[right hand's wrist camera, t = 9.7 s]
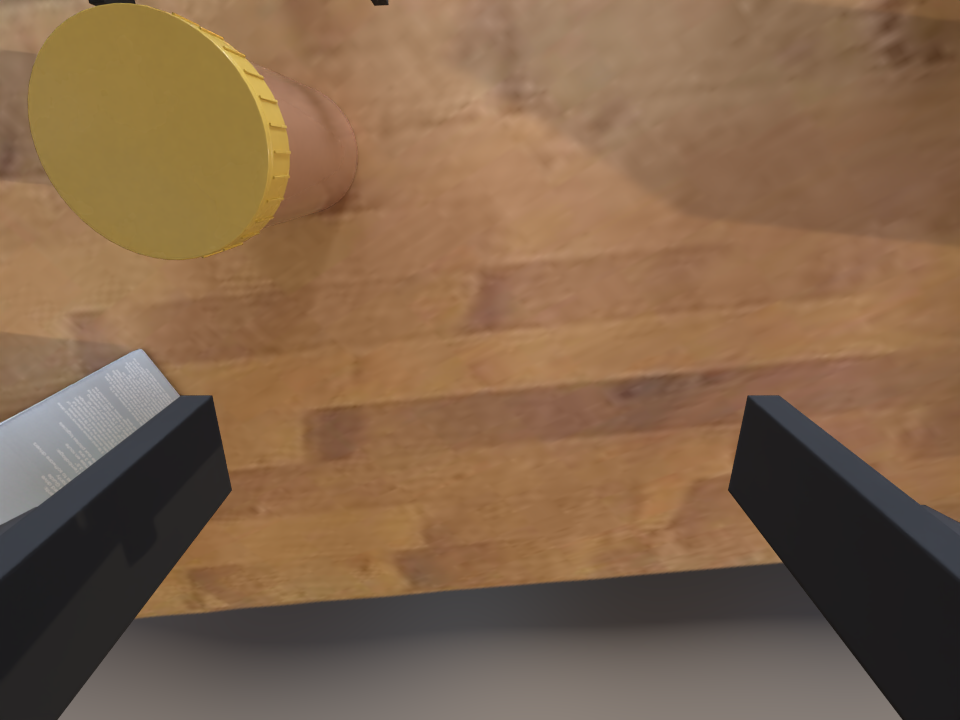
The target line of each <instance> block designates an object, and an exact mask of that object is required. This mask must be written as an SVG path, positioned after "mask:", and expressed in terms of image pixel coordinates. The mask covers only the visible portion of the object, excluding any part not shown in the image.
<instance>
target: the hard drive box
mask: <svg viewBox="0 0 960 720" xmlns="http://www.w3.org/2000/svg"><path fill="white" fill-rule="evenodd" d="M178 397H180V395H179V394H178V393H177V392H176V390H175V389H174V388H173V387H172V385H171V384H170V383H169V382H168V380H167V379H166V378H165V377H164V375H163V374H162V373H161V372H160V370H159V369H158V368H157V367H156V366H155V364H154V363H153V362H152V361H151V359H150V358H149V357H148V356H147V354H146V353H145V352H144V351H143V350H142V349H138V350H135V351H133V352H131V353H129V354H127V355H125V356H123V357H121V358H120V359H118V360H116V361H114V362H112V363H110V364H108V365H107V366H105V367H103V368H101V369H99V370H97V371H96V372H94V373H92V374H90V375H88V376H87V377H85V378H83V379H81V380H79V381H77V382H76V383H74V384H72V385H70V386H68V387H66V388H65V389H63V390H61V391H59V392H57V393H55V394H54V395H52V396H50V397H48V398H46V399H44V400H43V401H41V402H39V403H37V404H35V405H33V406H31V407H30V408H28V409H26V410H24V411H22V412H20V413H18V414H16V415H14V416H13V417H11V418H9V419H7V420H5V421H3V422H1V423H0V525H1V524H3V523H5V522H7V521H9V520H11V519H13V518H15V517H17V516H19V515H21V514H23V513H25V512H27V511H29V510H30V509H32V508H34V507H38V506H39V505H40V504H42V503H43V502H44V501H46V500H47V499H48V498H49V497H51V496H52V495H53V494H55V493H56V492H57V491H58V490H60V489H61V488H62V487H64V486H65V485H66V484H67V483H69V482H70V481H71V480H73V479H74V478H75V477H76V476H78V475H79V474H80V473H82V472H83V471H84V470H86V469H87V468H88V467H89V466H91V465H92V464H93V463H95V462H96V461H97V460H98V459H100V458H101V457H102V456H104V455H105V454H106V453H107V452H109V451H110V450H111V449H113V448H114V447H115V446H117V445H118V444H119V443H120V442H122V441H123V440H124V439H126V438H127V437H128V436H129V435H131V434H132V433H133V432H135V431H136V430H137V429H138V428H140V427H141V426H142V425H144V424H145V423H146V422H147V421H149V420H150V419H151V418H153V417H154V416H155V415H157V414H158V413H159V412H160V411H162V410H163V409H164V408H166V407H167V406H168V405H169V404H171V403H172V402H173V401H175V400H176V399H177V398H178Z"/></svg>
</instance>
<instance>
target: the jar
mask: <svg viewBox="0 0 960 720" xmlns="http://www.w3.org/2000/svg"><path fill="white" fill-rule="evenodd" d="M248 61H249V60H248ZM249 62H250V63H251V64H252V66H253V67H254V68H255V69H256V71H257V72H258V73H259V74H260V75H262V76H263V77H264V79H263V80H264V81H265V83H266V84H267V86H268V87H269V89H270V91H271V92H272V94H273V96H274V98H275V100H277V101H278V103H277V104H278V106H279V109H280V112H281V114H282V117H283V120H284V123H285V125H286V126H287V129H286V131H287V136H288V142H289V151H291V154H290V168H289V176H290V178H288V182H287V186H286V190H285V193H284V196H283V198H284V200H282V201H281V203H280V205H279V207H278V209H277V211H276V212H275V214H274V215H273V217H274V218H273V219H271V220H270V221H269V222H268V223H267V224H266V225H265V227H264V228H266V227H269V226H272V225H276V224H279V223H282V222H286V221H289V220H292V219H296V218H299V217H302V216H306V215H309V214H312V213H316V212H319V211H322V210H325V209H327V208H329V207H331V206H332V205H334V204H336V203H337V202H338V201H339V200H340V199H341V198H342V197H343V196H344V195H345V194H346V193H347V191H348V190H349V188H350V186H351V184H352V182H353V180H354V177H355V174H356V169H357V162H358V152H357V144H356V139H355V136H354V132H353V130H352V127H351V125H350V123H349V121H348V120H347V118H346V116H345V115H344V113H343V112H342V111H341V109H340V108H339V107H338V106H337V105H336V104H335V103H334V102H333V101H332V100H331V99H330V98H328V97H327V96H326V95H324V94H323V93H321V92H319V91H318V90H315V89H313V88H311V87H309V86H306V85H304V84H302V83H300V82H297V81H295V80H293V79H290V78H288V77H286V76H284V75H281V74H279V73H277V72H274V71H272V70H270V69H268V68H265V67H263V66H261V65H258V64H256V63H254V62H252V61H249Z"/></svg>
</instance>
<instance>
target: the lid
mask: <svg viewBox="0 0 960 720" xmlns="http://www.w3.org/2000/svg"><path fill="white" fill-rule="evenodd" d="M223 39H224V38H223V37H221V36H219V35H217V34H215V33H213V32H211V31H209V30H207V29H205V28H202V27H200V26H199V25H198V24H196V23H194V22H192V21H190V20H188V19H186V18H184V17H181V16H179V15H177V14H175V13H173V12H172V14H170V13H167V12H165V11H162V10H159V9H156V8H152V7H149V6H147V5H138V4H132V3H112V4H105V5H98V6H95V7H92V8H89V9H86V10H83V11H81V12H79V13H77V14H75V15H74V16H72V17H70V18H68V19H67V20H66V21H65V22H63V23H62V24H61V25H60V26H58V27H57V28H56V29H55V30H54V31H53V33H52V34H51V35H50V36H49V37H48V38H47V40H46V41H45V43H44V44H43V46H42V48H41V49H40V51H39V53H38V55H37V58H36V60H35V63H34V65H33V68H32V72H31V77H30V81H29V89H28V118H29V124H30V130H31V135H32V138H33V142H34V145H35V149H36V151H37V154H38V156H39V159H40V161H41V164H42V166H43V168H44V170H45V172H46V174H47V176H48V177H49V179H50V181H51V183H52V184H53V186H54V187H55V189H56V190H57V192H58V193H59V195H60V196H61V197H62V199H63V200H64V201H65V202H66V203H67V205H68V206H69V207H70V208H71V209H72V210H73V211H74V212H75V213H76V214H77V215H78V216H79V217H80V218H81V219H82V220H83V221H84V222H85V223H86V224H87V225H89V226H90V227H91V228H92V229H93V230H95V231H96V232H97V233H99V234H100V235H102V236H103V237H105V238H106V239H108V240H109V241H111V242H113V243H115V244H117V245H119V246H121V247H123V248H125V249H127V250H130V251H133V252H135V253H138V254H141V255H145V256H149V257H152V258H159V259H166V260H186V259H193V258H198V257H202V258H205V257H208V256H211V255H214V254H217V253H220V252H223V251H226V250H229V249H232V248H234V247H237V246H240V245H243V243H242V242H245V241H246V240H248V239H249V238H251V237H253V236H255V235H258V234H259V233H260V232H259V231H260V230H261V229H262V228H264V227H265V225H266V224H267V223H268V222H269V221H270V220H271V219H273V218H274V217H273V215H274V214H275V212H276V211H277V209H278V207H279V205H280V203H281V201H282V200H284V198H283V196H284V193H285V190H286V186H287V182H288V178H290V176H289V168H290V154H291V151H289V142H288V136H287V131H286V129H287V126H286V125H285V123H284V120H283V117H282V114H281V112H280V109H279V106H278V104H277V103H278V101H277V100H275V98H274V96H273V94H272V92H271V91H270V89H269V87H268V86H267V84H266V83H265V81H264V80H263V79H264V77H263V76H262V75H260V74H259V73H258V72H257V71H256V69H255V68H254V67H253V66H252V64H251V63H250V62H249V61H248V60H247V59H246V58H245V57H246V56H245V55H244V54H242V53H240V52H238V51H237V50H236V49H234V48H233V47H232V46H231V45H229V44H228V43H227V42H225V41H224V40H223Z"/></svg>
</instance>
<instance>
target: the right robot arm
mask: <svg viewBox="0 0 960 720" xmlns="http://www.w3.org/2000/svg"><path fill="white" fill-rule="evenodd" d="M231 491H232V489H231V484H230V479H229V474H228V469H227V464H226V460H225V455H224V450H223V445H222V440H221V435H220V431H219V426H218V421H217V416H216V411H215V406H214V402H213V397H212V396H180V397H178V398H177V399H176V400H175V401H173V402H172V403H171V404H169V405H168V406H167V407H166V408H164V409H163V410H162V411H160V412H159V413H158V414H157V415H155V416H154V417H153V418H151V419H150V420H149V421H147V422H146V423H145V424H144V425H142V426H141V427H140V428H138V429H137V430H136V431H135V432H133V433H132V434H131V435H129V436H128V437H127V438H126V439H124V440H123V441H122V442H120V443H119V444H118V445H117V446H115V447H114V448H113V449H111V450H110V451H109V452H107V453H106V454H105V455H104V456H102V457H101V458H100V459H98V460H97V461H96V462H95V463H93V464H92V465H91V466H89V467H88V468H87V469H86V470H84V471H83V472H82V473H80V474H79V475H78V476H76V477H75V478H74V479H73V480H71V481H70V482H69V483H67V484H66V485H65V486H64V487H62V488H61V489H60V490H58V491H57V492H56V493H55V494H53V495H52V496H51V497H49V498H48V499H47V500H46V501H44V502H43V503H42V504H40V505H39V506H38V507H34V508H32V509H30V510H29V511H27V512H25V513H23V514H21V515H19V516H17V517H15V518H13V519H11V520H9V521H7V522H5V523H3V524H1V525H0V720H58V718H59V717H60V716H61V714H62V713H63V712H64V710H65V709H66V708H67V706H68V705H69V704H70V702H71V701H72V700H73V698H74V697H75V696H76V694H77V693H78V692H79V691H80V689H81V688H82V687H83V685H84V684H85V683H86V681H87V680H88V679H89V677H90V676H91V675H92V673H93V672H94V671H95V670H96V668H97V667H98V666H99V664H100V663H101V662H102V660H103V659H104V658H105V656H106V655H107V654H108V652H109V651H110V650H111V649H112V647H113V646H114V645H115V643H116V642H117V641H118V639H119V638H120V637H121V635H122V634H123V633H124V631H125V630H126V629H127V627H128V626H129V625H130V623H131V622H132V621H133V620H134V618H135V617H136V616H137V614H138V613H139V612H140V610H141V609H142V608H143V606H144V605H145V604H146V602H147V601H148V600H149V599H150V597H151V596H152V595H153V593H154V592H155V591H156V589H157V588H158V587H159V585H160V584H161V583H162V581H163V580H164V579H165V578H166V576H167V575H168V574H169V572H170V571H171V570H172V568H173V567H174V566H175V564H176V563H177V562H178V560H179V559H180V558H181V556H182V555H183V554H184V553H185V551H186V550H187V549H188V547H189V546H190V545H191V543H192V542H193V541H194V539H195V538H196V537H197V535H198V534H199V533H200V531H201V530H202V529H203V528H204V526H205V525H206V524H207V522H208V521H209V520H210V518H211V517H212V516H213V514H214V513H215V512H216V510H217V509H218V508H219V506H220V505H221V504H222V503H223V501H224V500H225V499H226V497H227V496H228V495H229V493H230V492H231ZM728 491H729V492H730V493H731V495H732V496H733V497H734V499H735V500H736V501H737V503H738V504H739V505H740V506H741V508H742V509H743V510H744V512H745V513H746V514H747V516H748V517H749V518H750V520H751V521H752V522H753V524H754V525H755V526H756V528H757V529H758V530H759V531H760V533H761V534H762V535H763V537H764V538H765V539H766V541H767V542H768V543H769V545H770V546H771V547H772V549H773V550H774V551H775V553H776V554H777V555H778V556H779V558H780V559H781V560H782V562H783V563H784V564H785V566H786V567H787V568H788V570H789V571H790V572H791V574H792V575H793V576H794V577H795V579H796V580H797V581H798V583H799V584H800V585H801V587H802V588H803V589H804V591H805V592H806V593H807V595H808V596H809V597H810V598H811V600H812V601H813V602H814V604H815V605H816V606H817V608H818V609H819V610H820V612H821V613H822V614H823V616H824V617H825V618H826V620H827V621H828V622H829V624H830V625H831V626H832V627H833V629H834V630H835V631H836V633H837V634H838V635H839V637H840V638H841V639H842V641H843V642H844V643H845V645H846V646H847V647H848V649H849V650H850V651H851V652H852V654H853V655H854V656H855V658H856V659H857V660H858V662H859V663H860V664H861V666H862V667H863V668H864V670H865V671H866V672H867V673H868V675H869V676H870V677H871V679H872V680H873V681H874V683H875V684H876V685H877V687H878V688H879V689H880V691H881V692H882V693H883V695H884V696H885V697H886V699H887V700H888V701H889V702H890V704H891V705H892V706H893V708H894V709H895V710H896V712H897V713H898V714H899V716H900V717H901V718H902V720H960V523H959V522H957V521H955V520H953V519H951V518H949V517H947V516H945V515H943V514H942V513H940V512H938V511H936V510H934V509H932V508H930V507H928V506H926V505H920V504H918V503H917V502H916V501H914V500H913V499H912V498H911V497H909V496H908V495H907V494H905V493H904V492H903V491H902V490H900V489H899V488H898V487H896V486H895V485H894V484H893V483H891V482H890V481H889V480H887V479H886V478H885V477H884V476H882V475H881V474H880V473H878V472H877V471H876V470H874V469H873V468H872V467H871V466H869V465H868V464H867V463H865V462H864V461H863V460H862V459H860V458H859V457H858V456H856V455H855V454H854V453H853V452H851V451H850V450H849V449H847V448H846V447H845V446H843V445H842V444H841V443H840V442H838V441H837V440H836V439H834V438H833V437H832V436H831V435H829V434H828V433H827V432H825V431H824V430H823V429H822V428H820V427H819V426H818V425H816V424H815V423H814V422H813V421H811V420H810V419H809V418H807V417H806V416H805V415H803V414H802V413H801V412H800V411H798V410H797V409H796V408H794V407H793V406H792V405H791V404H789V403H788V402H787V401H785V400H784V399H783V398H782V397H780V396H748V397H747V401H746V406H745V411H744V416H743V421H742V426H741V430H740V435H739V440H738V445H737V450H736V455H735V459H734V464H733V469H732V474H731V479H730V484H729V488H728Z"/></svg>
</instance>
